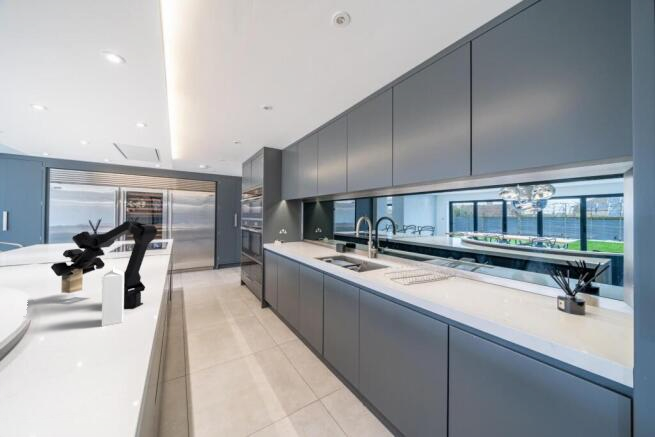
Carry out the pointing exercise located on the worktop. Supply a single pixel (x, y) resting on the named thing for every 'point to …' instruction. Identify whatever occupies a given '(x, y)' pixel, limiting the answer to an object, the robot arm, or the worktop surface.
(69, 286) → the oak block
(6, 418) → the worktop surface
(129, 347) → the worktop surface
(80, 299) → the tile
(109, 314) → the milk
